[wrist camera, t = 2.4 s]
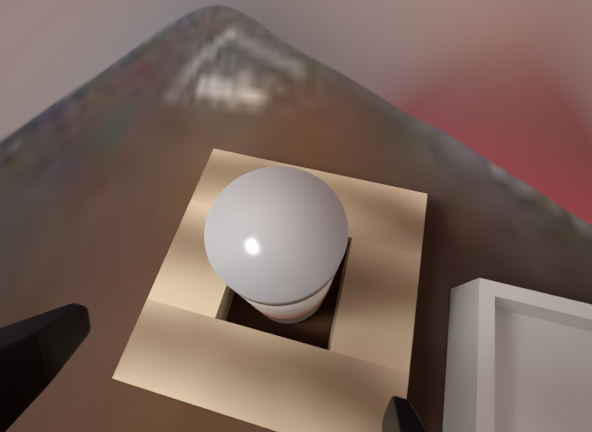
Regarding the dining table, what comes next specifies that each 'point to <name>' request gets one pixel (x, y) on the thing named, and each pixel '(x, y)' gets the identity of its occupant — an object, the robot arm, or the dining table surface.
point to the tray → (517, 361)
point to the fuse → (277, 240)
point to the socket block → (274, 349)
